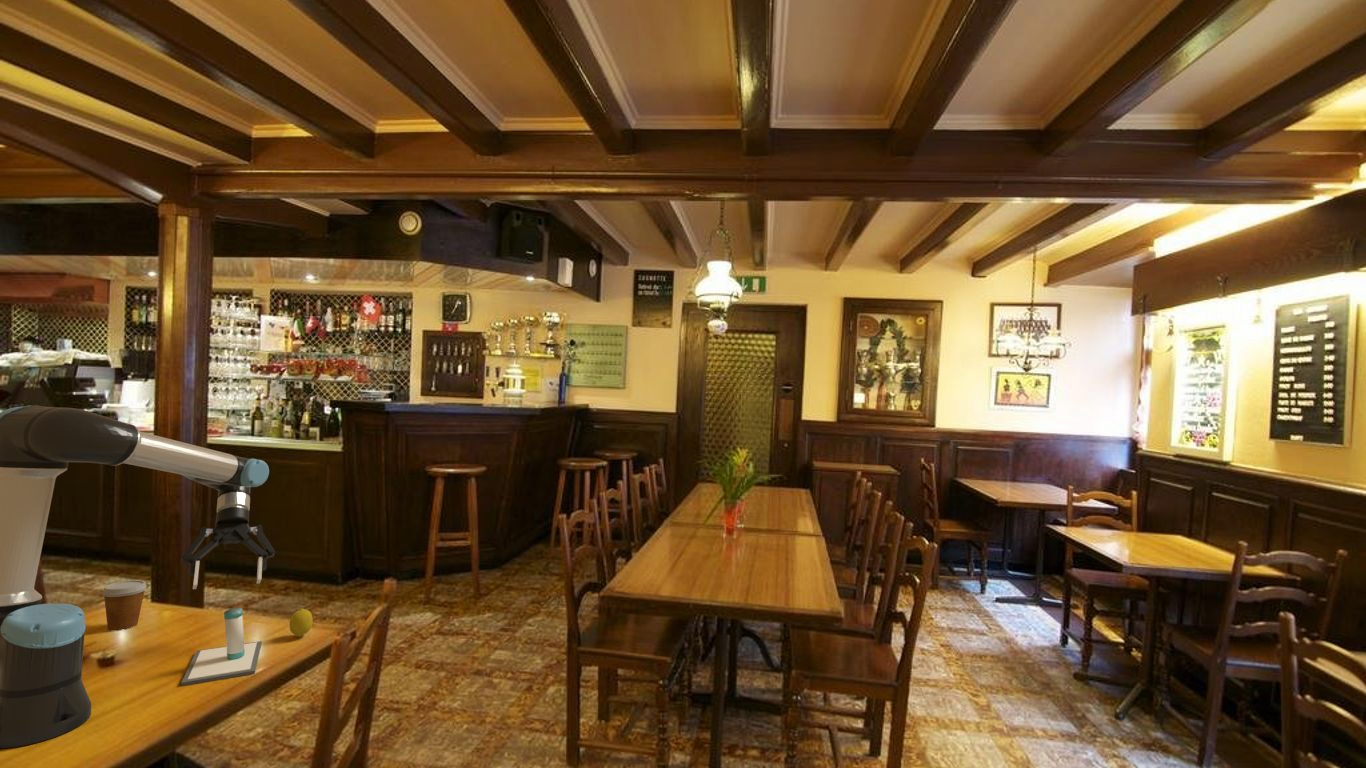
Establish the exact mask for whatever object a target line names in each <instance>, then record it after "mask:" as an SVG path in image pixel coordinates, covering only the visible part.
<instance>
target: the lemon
mask: <svg viewBox="0 0 1366 768" xmlns="http://www.w3.org/2000/svg"><path fill="white" fill-rule="evenodd" d="M313 619H314V618H313V614H312V612H311V611H310V610H308V609H305V608H303V607H302V608H300V609H298V610H297V611H295V612H294V613H292V615H291V617H290V620H289V629H290V630H289V631H290V633H292V634H293V635H294V636H297V637H298V638H303V636H305V635H306V634H308V632H310V630H311V629H312V626H313V623H314V622H313V621H314V620H313Z"/></svg>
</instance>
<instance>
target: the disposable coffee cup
mask: <svg viewBox="0 0 1366 768" xmlns="http://www.w3.org/2000/svg"><path fill="white" fill-rule="evenodd" d="M147 588H148V585H147V584H146V581H145V580H141V579H139V580H138V579H136V580H135V579H134V580H124V581H118V582H113V583H110V584H107V585H106V586H104V588H103V590H102V592H101V594H102V596H103V599H104V608H105V616H106V624H107V625H106V626H107V631H111V630H117V631H123V630H122V629H124V630H127V628H129V629H131V627H132V628H134V627H136V626H138V624H139V619H140V614H141V609H142V604H143V600H144V595H145V591H146V589H147ZM133 626H134V627H133Z"/></svg>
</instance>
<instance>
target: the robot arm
mask: <svg viewBox="0 0 1366 768" xmlns="http://www.w3.org/2000/svg"><path fill="white" fill-rule="evenodd" d="M69 463H87V464H89V463H91V464H100V465H101V464H102V465H107V466H108V465H109V466H113V467H114V466H119V465H121V464H127V465H132V466H136V467H142V468H145V469H146V468H147V469H152V470H157V471H162V472H165V473H167V472H168V473H172V474H177V475H181V476H183V477H184V478H187V479H188V480H190V481H194V482H196V483H198V484H201V485H203V486H205V487H209V488H211V489H212V490H213V489H214V490H216V491H217V504H216V514H215V515H216V516H215V526H214V528H207V527H206V526H202V527H201V528H200V532H199V534H198V536H197V537H196V538H195V539H194V541H193V542H192V543H191V544H190V546H189V547H188V548H187V550H186V551H185V552H184V554H183V555H182V557H181V563H182V564H188V565H189V568H188V569H189V570H188V576H189V577H193V580H192V581H193V583H192V584H193V585H192V590H197V587H198V583H199V582H198V581H199V571H200V561H201V560H202V559H203V558H204V557H206V555H207V554H209V553H210V552H212V550H214V549H215V548H216V547H218V546H219V545H220V544H223V545H230V544H232V545H237V544H238V543H241V544H242V545H243V546H245V547H246V548H247V549H248V550H250V551H251V552H252V553H253V554H254V555H256V557H257V558H258V559H257V570H256V571H257V572H256V584H261V582H262V579H263V578H262V576H263V575H262V574H263V571H266V570H267V567H268V565H267V564H268V559H269V558H271V559H272V558H274V556H275V554H276V550H275V548H274V547H273V545H272V544H271V542H270V540H269V539H268V538H267V536H266V534H265V533H264V531H263V525H262V524H258V525H257V526H252V527H251V526H250V525H249V524H250V508H251V506H250V505H251V488H257V487H259V486H262V485H263V484H265V482H266V481H267V480H268V478H269V474H270V469H269V465H268V463H266V462H265V461H264V460H262V459H257V458H246V457H242V456H238V455H234V454H231V453H226V452H223V451H218V450H214V449H211V448H207V447H203V446H198V445H194V444H190V443H187V442H183V441H179V440H174V439H170V438H168V437H164V436H159V435H155V434H152V433H148V432H144V431H140V430H139V429H138V427H137V426H136V425H134V424H132V423H131V424H130V423H128V422H125V421H120V420H117V419H115V418H110V417H107V416H104V415H101V414H97V413H95V412H91V411H88V410H84V409H80V408H76V407H75V408H74V407H58V406H57V407H55V406H41V405H27V406H17V407H16V406H14V407H11V408H8V409H5V410H2V411H1V412H0V749H7V748H17V747H22V746H27V745H31V744H32V745H33V744H36V743H40V742H43V741H48V740H51V739H53V738H56V737H59V736H61V735H64V734H66V733H68V732H71V731H73V730H75V729H76V728H78V727H80V726H81V725H83V724H84V723H86V722H87V721H88V720H89V719H90V718H91V716H92V701H91V699H90V696H89V694H88V692H87V690H86V687H85V685H84V682H83V678H82V673H83V661H84V660H83V659H84V658H83V657H84V646H85V645H84V643H85V631H86V630H87V629H86V628H87V625H86V618H85V612H84V610H83V609H82V608H81V607H79V606H77V605H75V604H71V603H42V600H43V595H42V594H41V593H40V592H38V591H37V590H36V589H35V585H36V580H37V575H38V570H39V566H40V565H39V564H40V559H41V554H42V549H43V545H44V539H45V534H46V529H47V523H48V521H49V520H48V518H49V515H50V509H51V505H52V504H51V503H52V499H53V493H54V489H55V484H56V479H57V477H58V476H59V475H61V474H63V473H64V472H66V471H67V470H68V467H69ZM250 533H252V534H253V535H254V536H256V539H257V541H258V542H259V543H260V545H261V546H262V547H261V546H260V545H258V544H257V542H255V541H254V540H253V539H251V537H250V536H249V534H250ZM210 535H213V538H212V539H211V541H210V542H208V544H206V545H205V546H203V547H202V548H201V549H200V550H199V551H198V552H196V551H197V549H199V547H200V545H202V542H204V541H205V538H209V536H210ZM195 552H196V553H195Z"/></svg>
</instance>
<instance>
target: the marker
mask: <svg viewBox="0 0 1366 768" xmlns="http://www.w3.org/2000/svg"><path fill="white" fill-rule="evenodd" d="M243 615H244V611H243V608H242V607H232V608H229V609H227V610H225V611H224V613H223V617H224V625H225V626H224V627H225V642H226V645H225V646H227V659H229V660H234V659H238V658H241V657H242V656H244V654H245V650H244V644H245V636H244V618H243Z"/></svg>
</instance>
